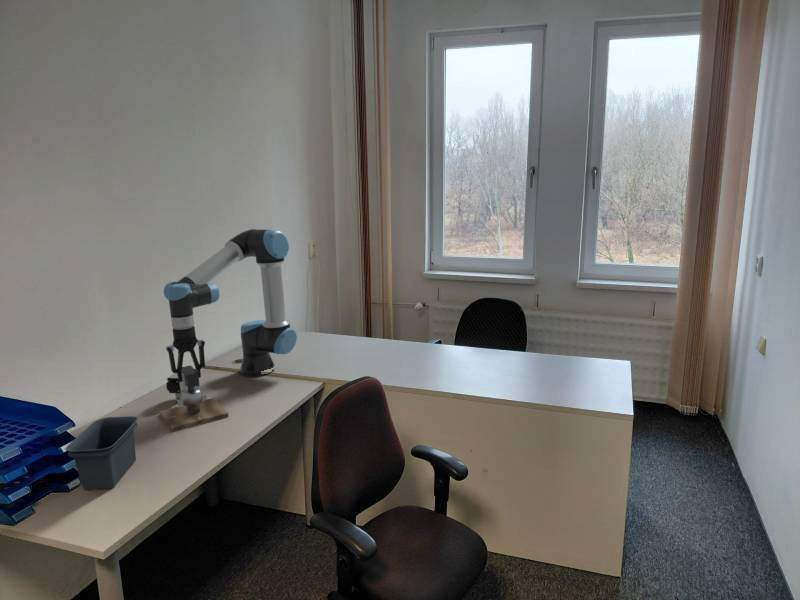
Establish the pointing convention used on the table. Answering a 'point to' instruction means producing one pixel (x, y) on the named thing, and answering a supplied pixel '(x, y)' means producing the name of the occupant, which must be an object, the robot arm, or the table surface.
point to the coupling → (191, 388)
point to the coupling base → (193, 414)
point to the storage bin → (104, 451)
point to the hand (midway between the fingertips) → (190, 387)
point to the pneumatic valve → (174, 386)
